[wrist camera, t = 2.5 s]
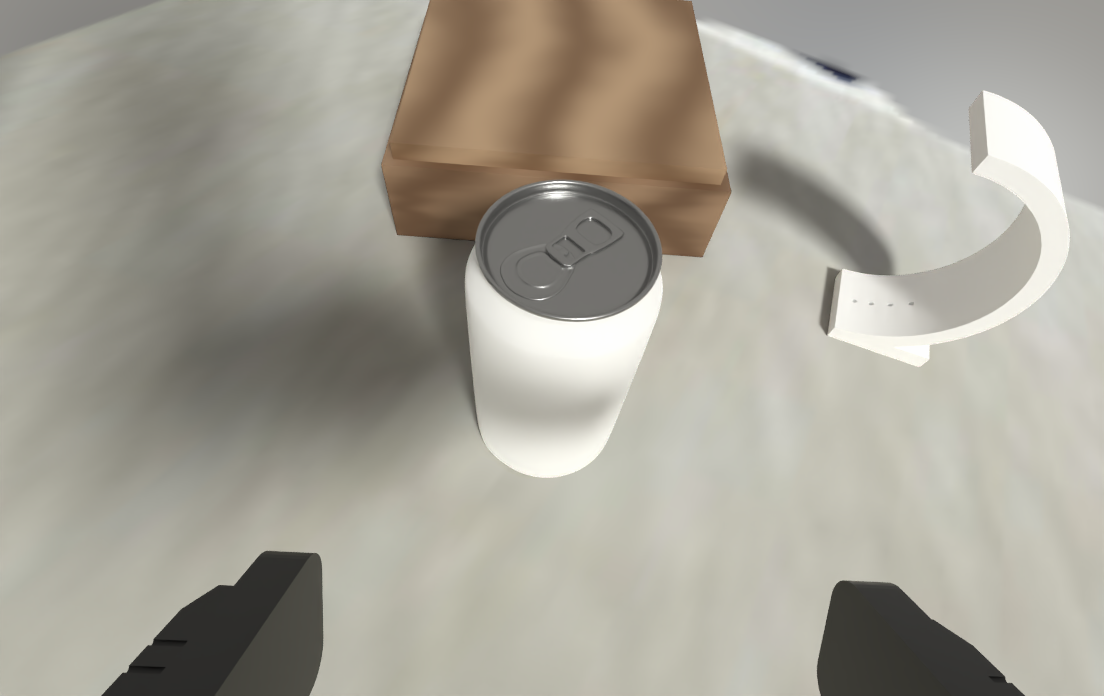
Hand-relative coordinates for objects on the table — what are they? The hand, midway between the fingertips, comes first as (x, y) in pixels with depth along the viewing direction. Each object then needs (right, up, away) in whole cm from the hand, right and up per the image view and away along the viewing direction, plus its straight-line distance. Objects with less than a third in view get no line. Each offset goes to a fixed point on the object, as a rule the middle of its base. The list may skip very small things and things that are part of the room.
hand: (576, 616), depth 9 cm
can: (-1, +1, +18) cm, 18 cm away
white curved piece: (+18, +5, +23) cm, 30 cm away
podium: (0, +18, +29) cm, 34 cm away
